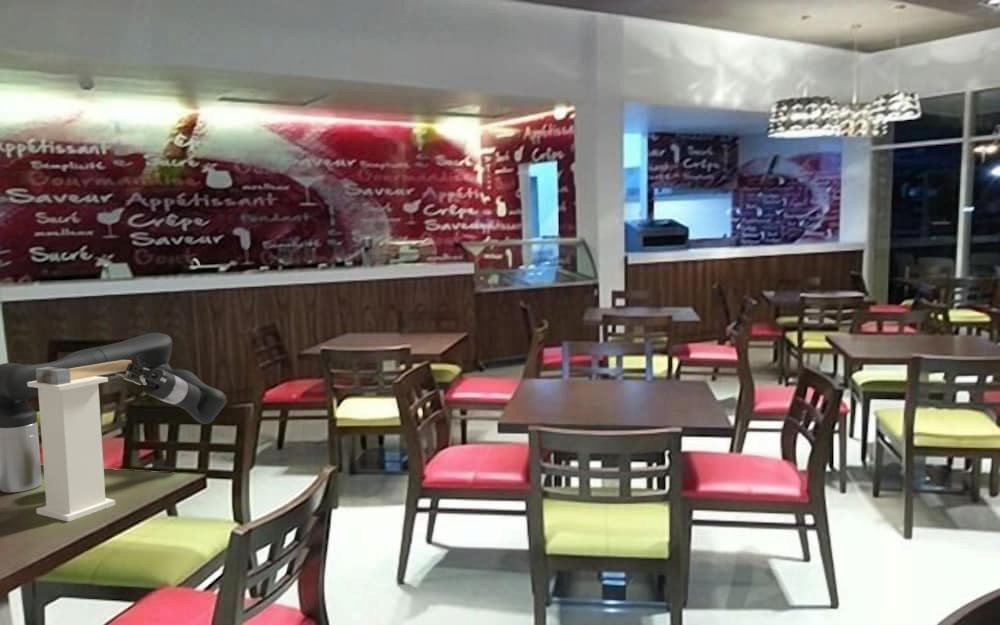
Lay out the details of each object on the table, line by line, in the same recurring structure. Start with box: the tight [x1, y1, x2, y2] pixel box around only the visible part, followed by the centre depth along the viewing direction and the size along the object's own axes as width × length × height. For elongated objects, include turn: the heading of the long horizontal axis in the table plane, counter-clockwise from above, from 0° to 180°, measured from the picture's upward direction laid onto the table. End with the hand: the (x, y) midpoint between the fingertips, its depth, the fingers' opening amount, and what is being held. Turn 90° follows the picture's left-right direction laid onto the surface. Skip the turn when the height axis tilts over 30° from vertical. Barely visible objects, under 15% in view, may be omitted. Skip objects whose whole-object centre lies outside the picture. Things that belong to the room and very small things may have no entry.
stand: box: [27, 376, 116, 522], centre depth 175 cm, size 12×12×32 cm
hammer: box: [36, 359, 133, 385], centre depth 179 cm, size 8×21×3 cm, turn 154°
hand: (117, 365), depth 185 cm, fingers open, 8 cm apart
